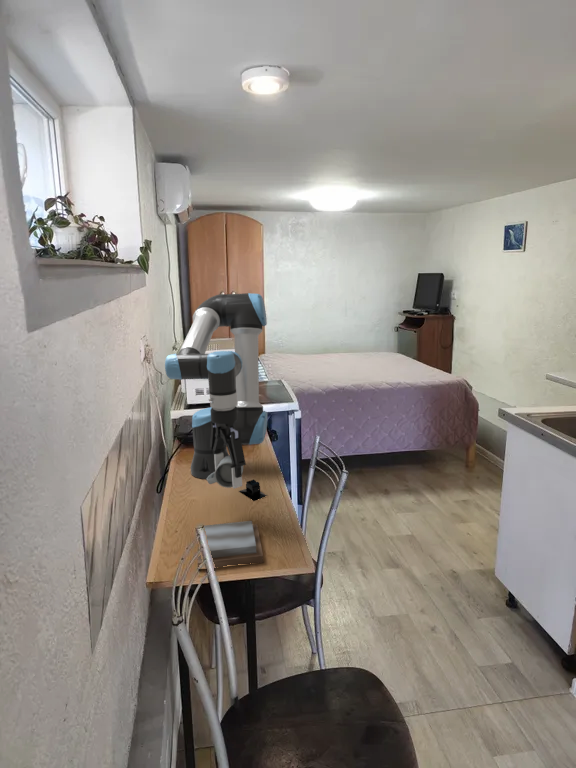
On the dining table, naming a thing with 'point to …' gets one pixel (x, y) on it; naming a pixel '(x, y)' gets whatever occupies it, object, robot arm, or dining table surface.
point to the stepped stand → (234, 543)
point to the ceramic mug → (223, 473)
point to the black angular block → (253, 490)
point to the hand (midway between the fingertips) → (228, 480)
